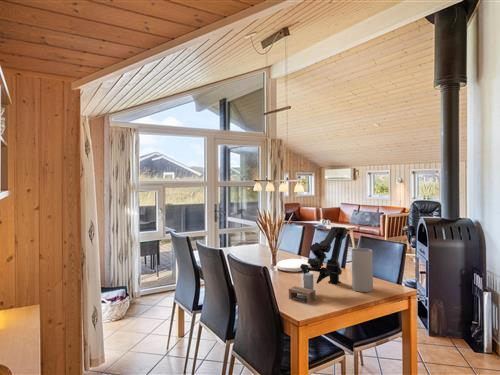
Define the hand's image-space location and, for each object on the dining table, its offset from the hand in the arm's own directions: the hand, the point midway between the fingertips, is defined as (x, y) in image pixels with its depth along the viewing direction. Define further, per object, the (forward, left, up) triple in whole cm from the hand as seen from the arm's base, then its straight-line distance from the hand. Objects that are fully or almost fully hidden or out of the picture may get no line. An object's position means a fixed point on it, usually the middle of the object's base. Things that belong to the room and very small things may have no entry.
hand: (310, 281), depth 205 cm
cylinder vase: (-30, +18, -8) cm, 36 cm away
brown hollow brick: (+9, +1, -8) cm, 12 cm away
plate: (-43, -48, -8) cm, 65 cm away
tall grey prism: (+5, 0, -8) cm, 9 cm away
